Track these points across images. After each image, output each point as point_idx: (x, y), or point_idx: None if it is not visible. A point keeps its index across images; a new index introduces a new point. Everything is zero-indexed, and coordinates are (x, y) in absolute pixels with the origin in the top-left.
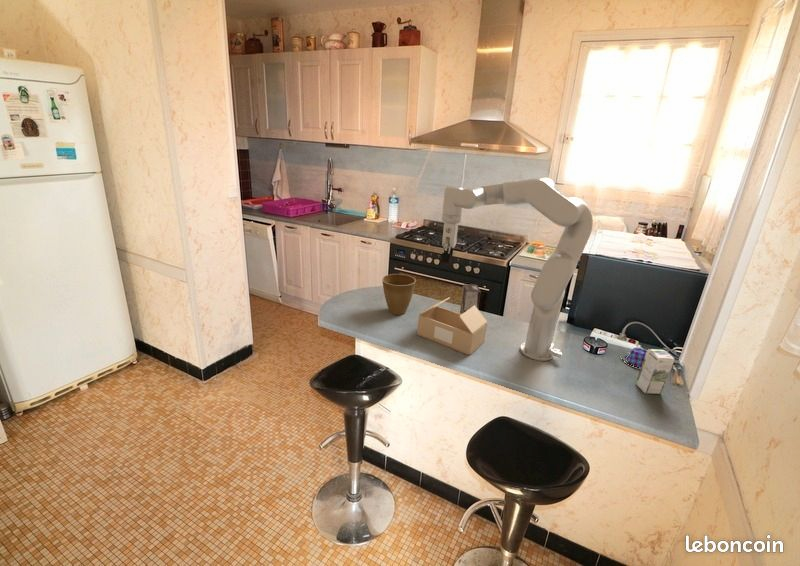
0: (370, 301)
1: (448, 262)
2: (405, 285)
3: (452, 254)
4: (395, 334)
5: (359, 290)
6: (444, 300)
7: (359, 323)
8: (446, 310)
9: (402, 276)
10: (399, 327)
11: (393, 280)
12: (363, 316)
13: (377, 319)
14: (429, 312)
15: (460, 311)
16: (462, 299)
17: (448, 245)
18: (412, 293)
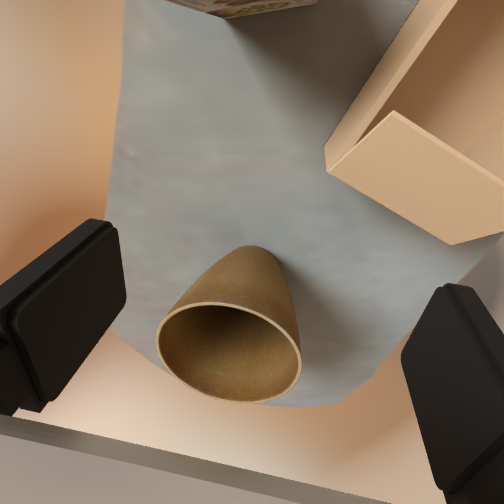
0: None
1: (463, 293)
2: (293, 341)
3: (91, 228)
4: (415, 267)
5: (148, 357)
6: (449, 150)
7: (349, 349)
8: (377, 110)
9: (163, 338)
10: (365, 258)
11: (184, 350)
12: (305, 343)
13: (318, 314)
14: None
15: (228, 15)
16: (228, 4)
17: (10, 406)
18: (248, 275)
